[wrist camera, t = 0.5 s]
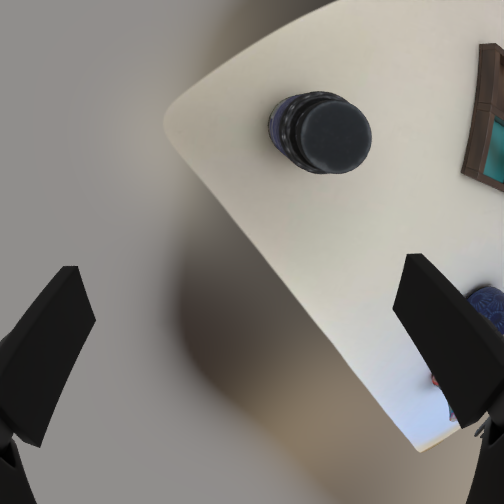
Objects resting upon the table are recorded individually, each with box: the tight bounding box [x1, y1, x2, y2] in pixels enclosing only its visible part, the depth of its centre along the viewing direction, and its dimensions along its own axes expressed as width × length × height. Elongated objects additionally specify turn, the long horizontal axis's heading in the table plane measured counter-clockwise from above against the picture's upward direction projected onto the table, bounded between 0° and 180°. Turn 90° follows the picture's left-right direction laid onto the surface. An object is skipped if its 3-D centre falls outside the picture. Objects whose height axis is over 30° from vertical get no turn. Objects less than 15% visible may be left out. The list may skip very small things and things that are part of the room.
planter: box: [467, 287, 504, 336], centre depth 34 cm, size 12×12×11 cm
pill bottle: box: [268, 91, 372, 174], centre depth 21 cm, size 6×6×11 cm
